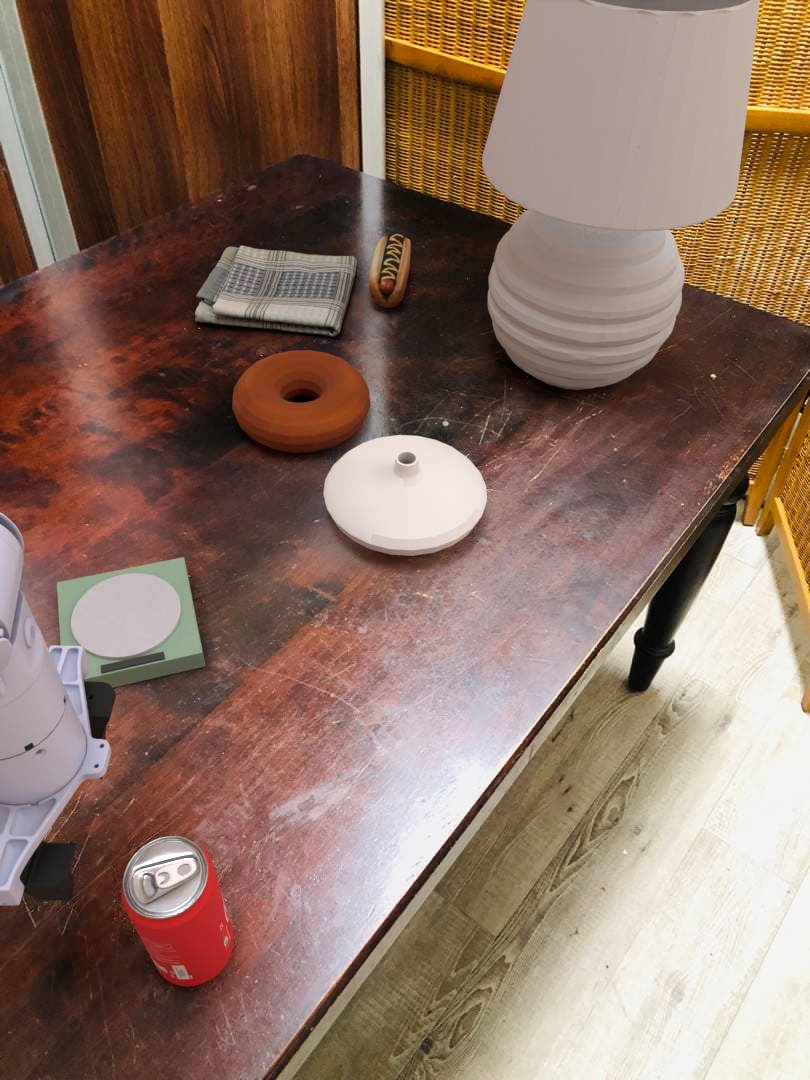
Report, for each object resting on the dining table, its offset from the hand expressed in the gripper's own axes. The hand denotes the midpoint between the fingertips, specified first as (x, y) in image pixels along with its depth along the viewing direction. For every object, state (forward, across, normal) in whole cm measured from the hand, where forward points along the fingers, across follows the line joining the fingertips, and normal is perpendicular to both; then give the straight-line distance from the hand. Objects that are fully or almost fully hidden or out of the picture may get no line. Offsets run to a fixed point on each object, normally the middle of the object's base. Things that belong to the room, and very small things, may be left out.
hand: (72, 831), depth 54 cm
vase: (+9, +38, -21) cm, 44 cm away
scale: (+9, +22, +3) cm, 24 cm away
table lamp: (+9, +64, -40) cm, 76 cm away
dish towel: (+9, +76, -5) cm, 77 cm away
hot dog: (+9, +79, -19) cm, 82 cm away
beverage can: (+10, -4, -7) cm, 12 cm away
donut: (+9, +52, -10) cm, 53 cm away
